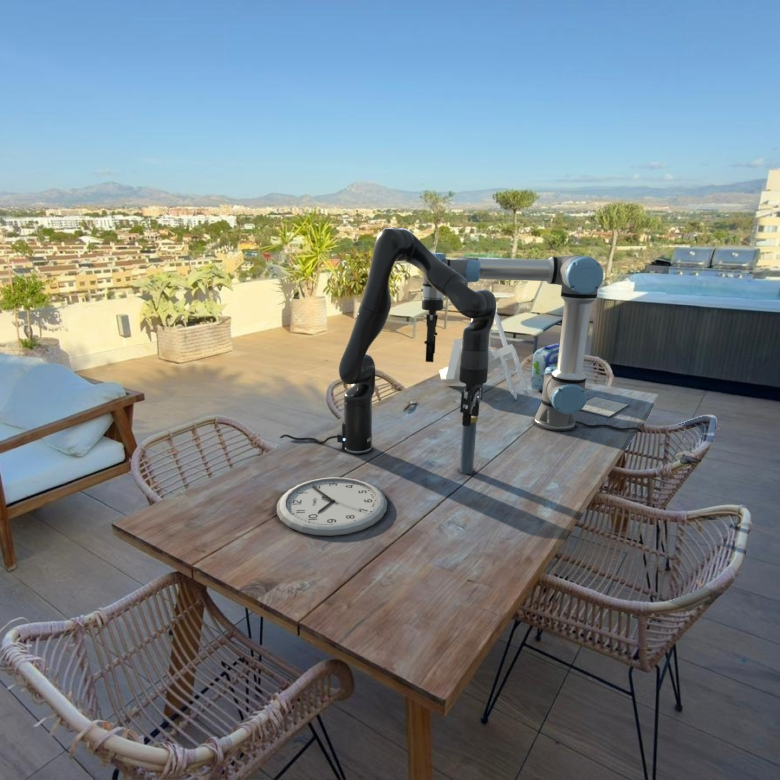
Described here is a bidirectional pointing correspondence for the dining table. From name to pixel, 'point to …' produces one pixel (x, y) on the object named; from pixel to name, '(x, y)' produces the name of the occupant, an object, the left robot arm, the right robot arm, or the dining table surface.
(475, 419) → the lid
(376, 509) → the wall clock
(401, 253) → the left robot arm
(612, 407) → the invitation card
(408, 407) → the fork
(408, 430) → the dining table surface
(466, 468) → the gray cylinder
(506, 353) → the white plastic object
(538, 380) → the lunch box
